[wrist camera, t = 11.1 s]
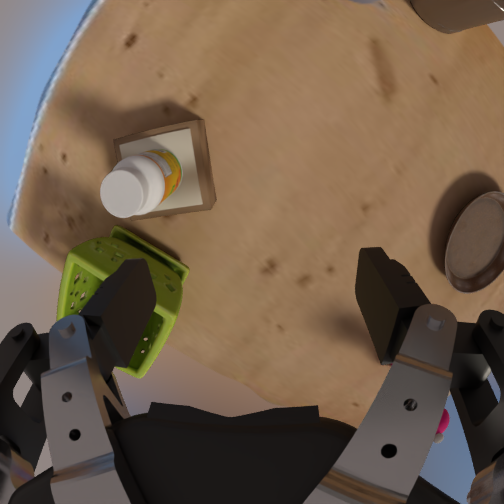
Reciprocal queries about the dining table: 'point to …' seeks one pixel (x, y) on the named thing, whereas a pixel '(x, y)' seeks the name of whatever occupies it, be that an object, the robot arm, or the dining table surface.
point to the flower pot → (107, 262)
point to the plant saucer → (476, 244)
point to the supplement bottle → (141, 183)
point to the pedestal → (192, 161)
